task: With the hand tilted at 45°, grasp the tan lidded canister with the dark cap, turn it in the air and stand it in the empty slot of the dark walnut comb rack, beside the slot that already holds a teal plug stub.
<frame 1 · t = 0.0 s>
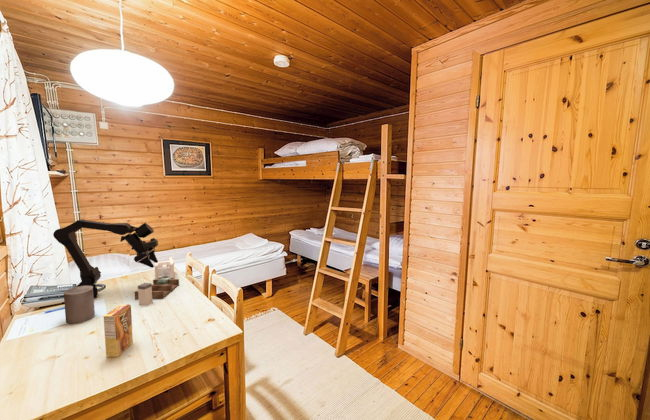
hand: (155, 264, 151), 15 cm above the table, tool tilted 35°, fingers open, 9 cm apart
pillar candle: (81, 319, 120), on the table
candy box: (120, 350, 98), on the table
comb rack: (158, 292, 150), on the table
tan lidded canister: (145, 303, 135), on the table
cable organizer: (164, 277, 173), on the table
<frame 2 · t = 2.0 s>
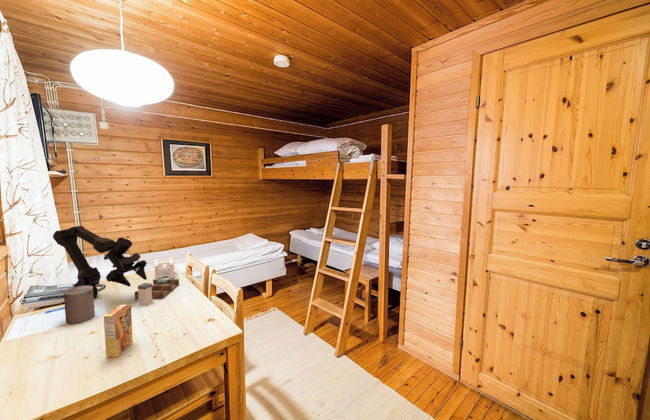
hand: (138, 282, 135), 11 cm above the table, tool tilted 45°, fingers open, 9 cm apart
nothing on the table moved.
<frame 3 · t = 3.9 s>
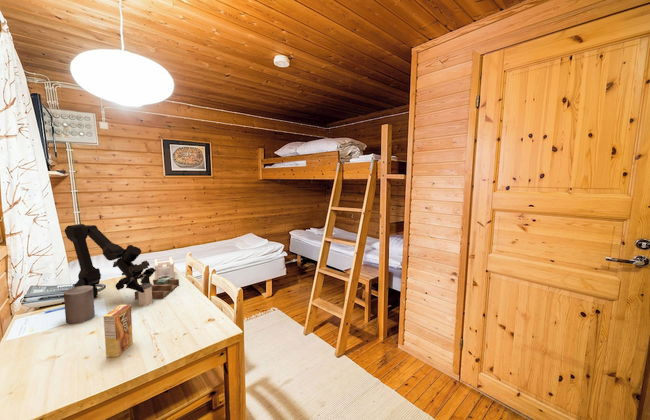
hand: (147, 290, 134), 7 cm above the table, tool tilted 45°, fingers closed on tan lidded canister, 4 cm apart
tan lidded canister: (145, 303, 135), on the table, touching gripper
everything else where it was.
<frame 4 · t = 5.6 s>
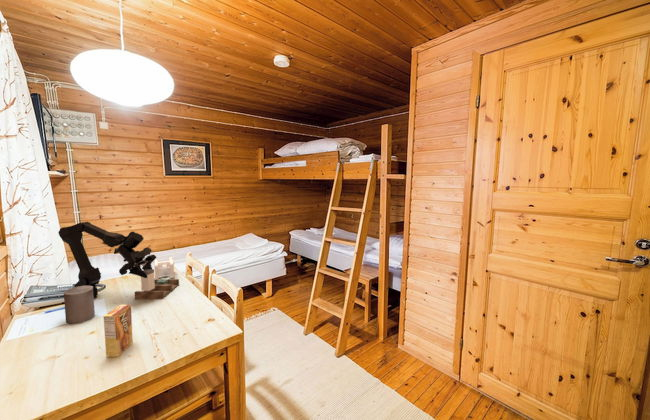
hand: (150, 276, 137), 13 cm above the table, tool tilted 45°, fingers closed on tan lidded canister, 4 cm apart
tan lidded canister: (148, 289, 138), point 6 cm above the table, touching gripper
everything else where it was.
when the fingers open (9 cm above the table, at t = 7.7 s): tan lidded canister stays where it is, resting on comb rack.
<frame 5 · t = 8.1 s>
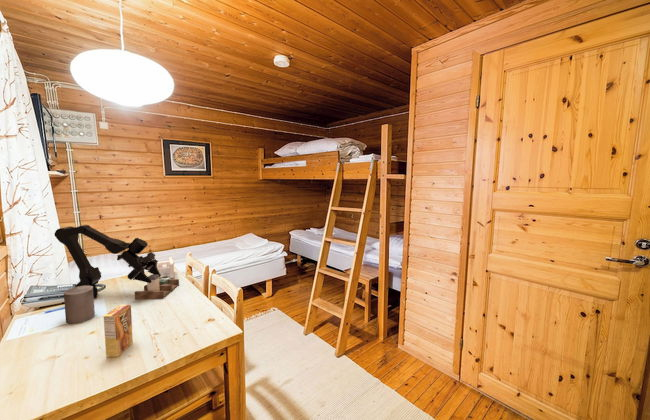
hand: (155, 279, 144), 9 cm above the table, tool tilted 45°, fingers open, 9 cm apart
tan lidded canister: (153, 293, 145), point 1 cm above the table, touching comb rack
everything else where it was.
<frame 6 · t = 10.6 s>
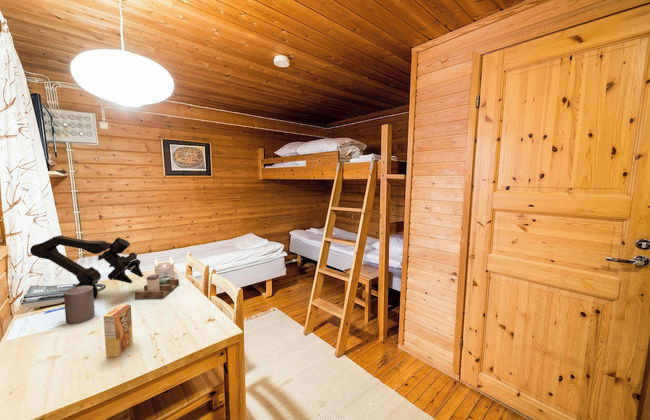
hand: (137, 279, 144), 9 cm above the table, tool tilted 45°, fingers open, 9 cm apart
nothing on the table moved.
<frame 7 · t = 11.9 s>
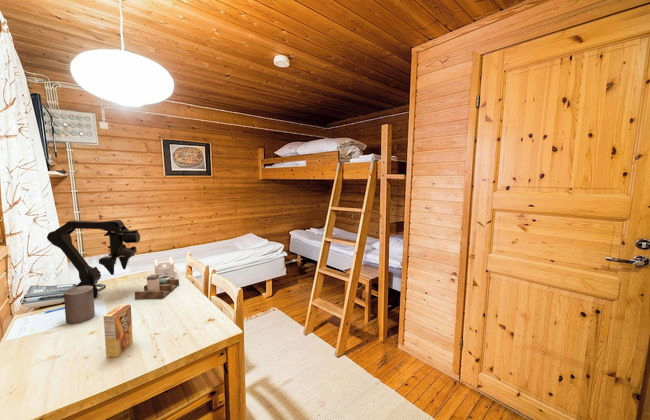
hand: (118, 271, 144), 13 cm above the table, tool pointing down, fingers open, 9 cm apart
nothing on the table moved.
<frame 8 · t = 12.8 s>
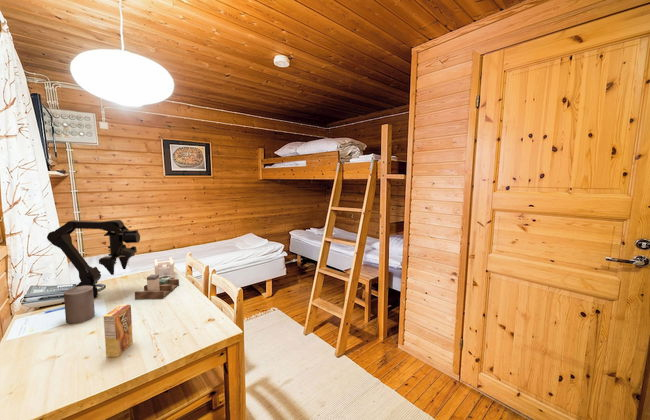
hand: (118, 271, 144), 13 cm above the table, tool pointing down, fingers open, 9 cm apart
nothing on the table moved.
at the end: tan lidded canister 0.1 cm from the target spot on the comb rack, point 1.0 cm above the comb rack's base; tan lidded canister tilted 0°; the gripper is holding nothing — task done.
